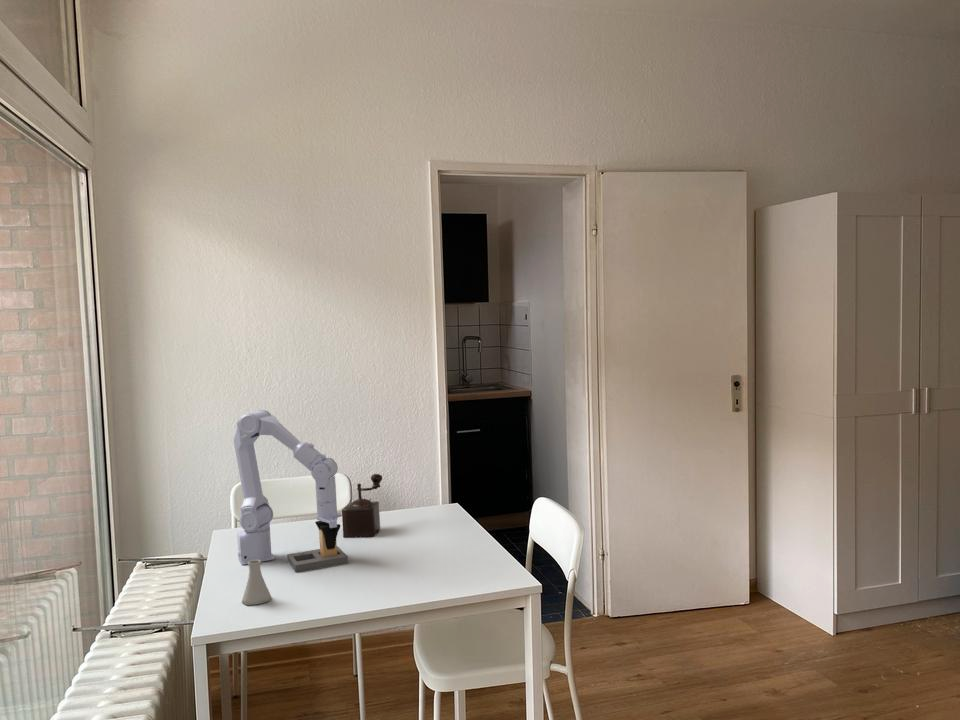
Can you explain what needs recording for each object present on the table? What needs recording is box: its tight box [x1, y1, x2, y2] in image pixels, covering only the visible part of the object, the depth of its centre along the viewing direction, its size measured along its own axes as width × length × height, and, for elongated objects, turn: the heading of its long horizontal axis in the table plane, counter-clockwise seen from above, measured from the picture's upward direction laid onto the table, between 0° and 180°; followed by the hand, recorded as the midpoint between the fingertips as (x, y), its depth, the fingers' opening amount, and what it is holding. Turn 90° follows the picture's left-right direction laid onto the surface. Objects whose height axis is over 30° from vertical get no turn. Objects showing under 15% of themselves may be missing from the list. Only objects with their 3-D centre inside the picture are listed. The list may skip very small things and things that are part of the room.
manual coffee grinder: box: [341, 473, 383, 539], centre depth 250 cm, size 16×11×18 cm
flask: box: [241, 560, 272, 606], centre depth 189 cm, size 7×7×10 cm
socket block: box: [286, 545, 349, 573], centre depth 219 cm, size 15×12×2 cm
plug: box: [318, 529, 338, 557], centre depth 220 cm, size 4×4×9 cm
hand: (328, 546), depth 220 cm, fingers closed on plug, 4 cm apart
